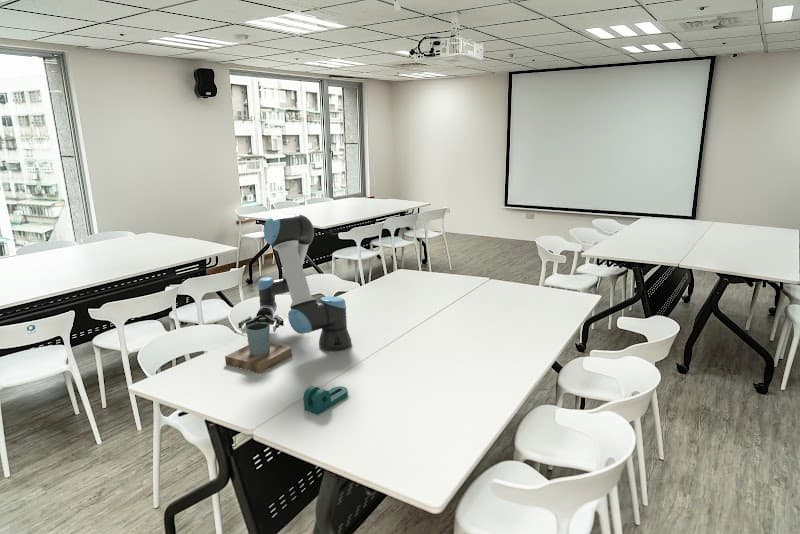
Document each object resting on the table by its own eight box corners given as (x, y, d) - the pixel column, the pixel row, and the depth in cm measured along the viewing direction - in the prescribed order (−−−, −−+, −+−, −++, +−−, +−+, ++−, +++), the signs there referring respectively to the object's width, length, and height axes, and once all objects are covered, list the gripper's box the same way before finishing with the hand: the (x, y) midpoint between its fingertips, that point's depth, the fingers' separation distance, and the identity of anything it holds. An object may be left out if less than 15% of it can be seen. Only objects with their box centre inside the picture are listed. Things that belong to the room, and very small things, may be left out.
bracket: (318, 415, 175) (316, 395, 173) (304, 410, 179) (302, 390, 177) (351, 394, 190) (350, 375, 188) (338, 390, 193) (337, 371, 191)
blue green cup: (250, 358, 214) (248, 331, 211) (245, 350, 223) (243, 324, 220) (274, 353, 219) (272, 327, 216) (268, 345, 228) (266, 320, 225)
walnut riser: (292, 355, 226) (291, 347, 225) (260, 373, 209) (259, 364, 208) (259, 348, 235) (258, 340, 234) (225, 364, 218) (224, 356, 217)
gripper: (291, 320, 247) (287, 336, 226) (239, 323, 244) (230, 339, 224) (290, 306, 245) (286, 320, 225) (238, 308, 243) (228, 323, 222)
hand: (258, 330), depth 224 cm, fingers open, 13 cm apart
